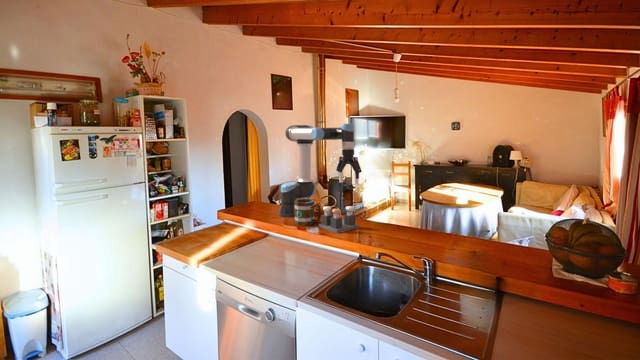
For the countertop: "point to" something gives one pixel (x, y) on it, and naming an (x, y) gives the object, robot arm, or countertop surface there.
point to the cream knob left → (349, 210)
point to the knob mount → (338, 223)
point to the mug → (305, 212)
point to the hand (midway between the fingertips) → (348, 183)
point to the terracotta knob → (336, 212)
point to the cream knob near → (326, 210)
